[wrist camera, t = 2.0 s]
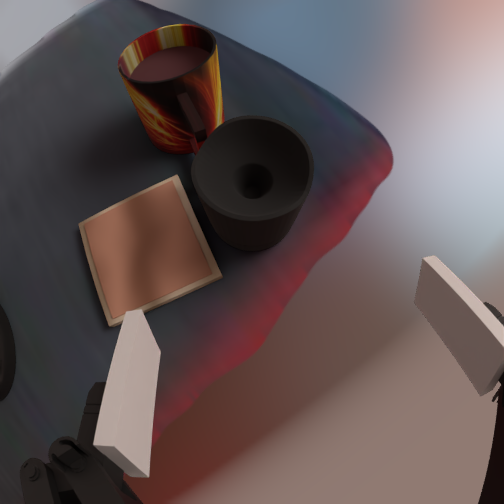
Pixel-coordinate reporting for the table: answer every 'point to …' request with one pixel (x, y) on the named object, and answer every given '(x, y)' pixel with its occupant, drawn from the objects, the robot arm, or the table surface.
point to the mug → (175, 86)
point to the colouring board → (147, 251)
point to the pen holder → (253, 180)
